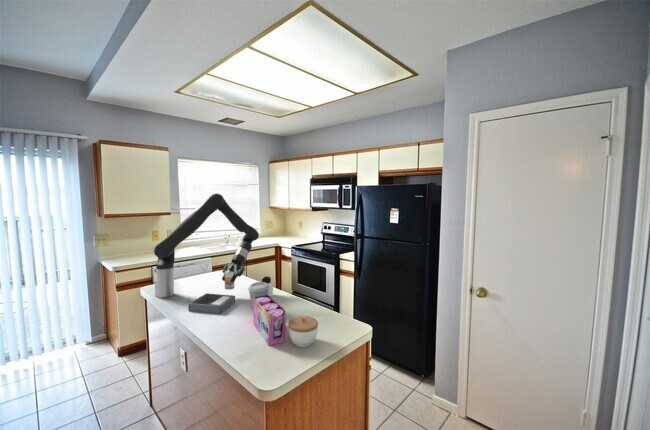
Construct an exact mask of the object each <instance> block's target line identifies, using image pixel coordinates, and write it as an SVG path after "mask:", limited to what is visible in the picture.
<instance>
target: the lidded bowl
mask: <svg viewBox="0 0 650 430" xmlns="http://www.w3.org/2000/svg"><path fill="white" fill-rule="evenodd" d="M318 326H319V322H318V320H317V319H316V318H315V317H312V316H307V315H301V316H300V315H299V316H294V317H292V318H290V320H289V321H288V335H289V339H290V341H291V342H292V343H293V344H294V345H295V346H296V347H298V348H307V347H310V346H311V345H312V344H313V342H314V341H315V340H316V338H317V337H318V336H317V334H318V330H319V329H318V328H319V327H318Z"/></svg>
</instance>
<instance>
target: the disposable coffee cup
mask: <svg viewBox="0 0 650 430" xmlns="http://www.w3.org/2000/svg"><path fill="white" fill-rule="evenodd" d="M268 288H269V286H268V284H267V283H266V282H261V281H256V282H253V283H251V284H250V285H249V286H248V294H249V297H250V305H251V310H252V312H253V298H254V297H258V296H264V295H267V294H268Z"/></svg>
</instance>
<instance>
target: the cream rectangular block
mask: <svg viewBox="0 0 650 430" xmlns="http://www.w3.org/2000/svg"><path fill="white" fill-rule="evenodd" d="M230 298H231V297H228V296H223V297H221V298H220V299H218V300H217V301H215V302H214V303H212V304H211V305H216V306H220V305H221V304H223V303H224V302H226V301H227V300H228V299H230Z"/></svg>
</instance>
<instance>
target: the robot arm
mask: <svg viewBox="0 0 650 430" xmlns="http://www.w3.org/2000/svg"><path fill="white" fill-rule="evenodd" d="M217 210H218V211H219V212H220V213H222V215H224V216H225V218H226V219H227V221H228V222H230V224H231V225H232V227H234V229H236V230H237V231H238V232H239V233H244V236H243V237H242V240H241V243H240V244H239V247H238V249H237V250H236V252H235V253H234V255H233V257H232V259H231V260H230V261H231V262H230V263H229V264H227V263H225V264H224V267H223V269H222V273H223V275H222V277H221V279H222V281H223V282H225V271H227V270H233V271H234V275H233V277H232V279H231V282H234V281H236V279H237V278H238V277H239V278H240V277H242V275H243V274H244V272H245V271H246V267H245V265H244V264H245V262H246V260H247V259H248V255H249V253H250V252H251V250H252V248H253V247H252V244H253V242H254V241H257V240H258V239H259V236H260V234H259V232H258V230H257V229H255V228H254V227H253V226H251V225H249V224H248V223H247V222H246V221H245V220H244V219H243V218H242V217H241V216H240V215H239V214H238V213H236V211H235V210H233V208H232V207H231V206H230V205H229V204H228V202H227V201H226V199H225V198H224V196H223V195H222V194H220V193H212V194H211V195H210V196H208V198H207V199H206V200H205V202H204V203H203V204H202V205H201V206H200V207H199V208H198V209H196V210H195V211H194V212H192V213H190V214H189V215H188V216H187V217H186V218H185V219H184V220H183V221H181V223H179V224H178V226H177V227H175V229H174V230H173V231H172V233H170V234H169V235H168V236H166V237H165V238H164V239H163V240H162V241H160V242H159V243H158V244H156V245H155V246H154V250H153V253H154V256H155V257H156V258H157V261H156V264H155V270H156V271H155V272H156V273H155V274H156V277H155V279H156V280H154V296H155V297H156V298H159V299H164V298H170V297H172V296H174V295H175V278H174V276H175V275H174V271H175V269H174V267H175V266H174V265H175V256H176V255H175V254H176V253H175V252H176V251H175V249H176V247H177V246H179V245H180V244H181V243H182V242H183V241H185V240H186V239H188V238H189V237H190V236H192V235H193V234H195V232H196V231H197V230H198V229H199V228H200V227H201V226H202V225H203V224H204V223H205V222H206V220H207V219H208V218H209V217H210V216H211V215H212V214H213V213H215V212H216V211H217Z"/></svg>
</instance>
